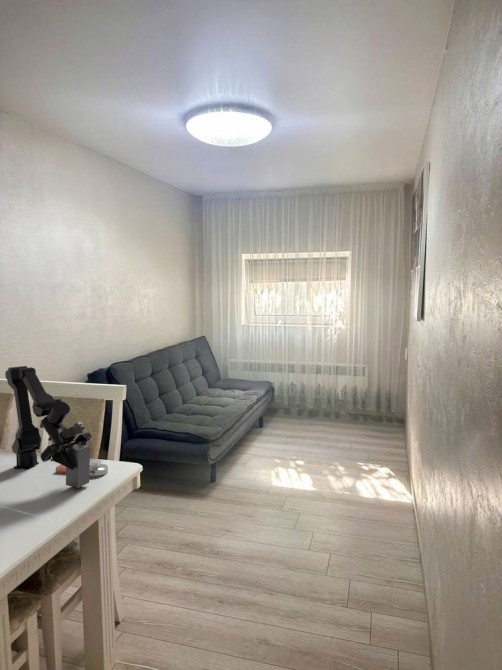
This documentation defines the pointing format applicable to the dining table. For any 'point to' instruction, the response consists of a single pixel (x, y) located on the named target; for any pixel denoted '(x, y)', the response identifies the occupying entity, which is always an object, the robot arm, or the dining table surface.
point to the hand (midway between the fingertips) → (80, 465)
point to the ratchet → (95, 469)
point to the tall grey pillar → (78, 465)
